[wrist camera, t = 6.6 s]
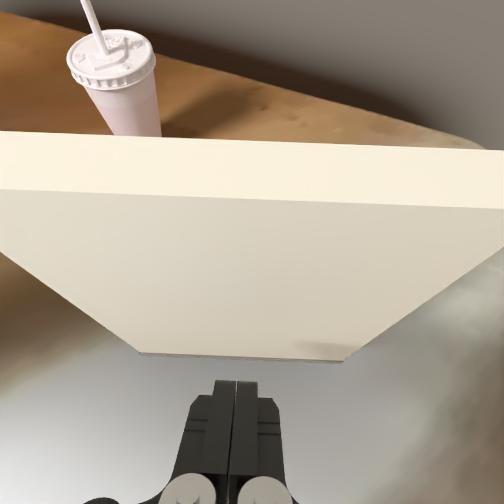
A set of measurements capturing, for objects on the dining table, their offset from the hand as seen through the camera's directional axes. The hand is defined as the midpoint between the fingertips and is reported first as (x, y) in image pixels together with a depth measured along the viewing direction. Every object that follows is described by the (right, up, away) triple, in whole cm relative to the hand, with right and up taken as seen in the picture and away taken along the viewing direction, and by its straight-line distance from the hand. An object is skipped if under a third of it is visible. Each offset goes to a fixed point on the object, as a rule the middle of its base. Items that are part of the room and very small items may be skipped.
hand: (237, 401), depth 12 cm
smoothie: (-10, +16, +22) cm, 28 cm away
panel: (0, -1, +9) cm, 9 cm away
